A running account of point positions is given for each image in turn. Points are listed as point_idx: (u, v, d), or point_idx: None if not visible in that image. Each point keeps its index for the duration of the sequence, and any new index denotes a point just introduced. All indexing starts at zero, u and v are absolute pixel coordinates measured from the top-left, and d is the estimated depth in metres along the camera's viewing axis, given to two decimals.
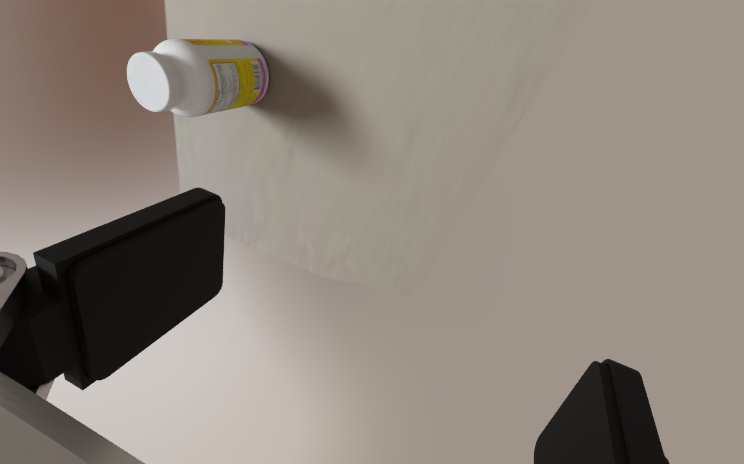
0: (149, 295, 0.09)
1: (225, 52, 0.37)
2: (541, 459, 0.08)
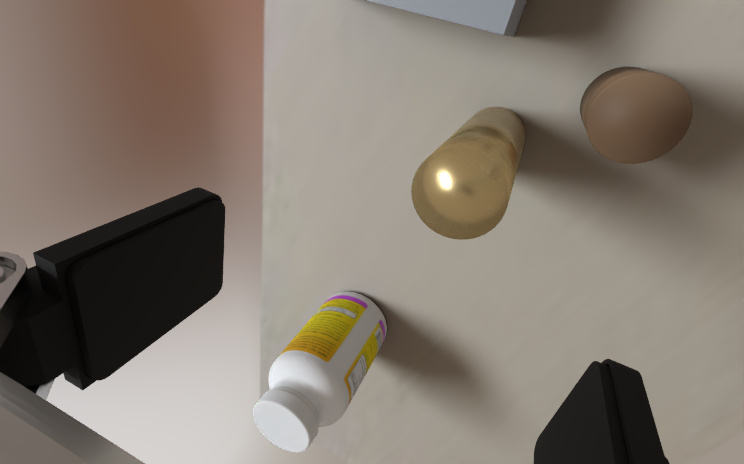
0: (149, 295, 0.09)
1: (354, 345, 0.31)
2: (541, 459, 0.08)
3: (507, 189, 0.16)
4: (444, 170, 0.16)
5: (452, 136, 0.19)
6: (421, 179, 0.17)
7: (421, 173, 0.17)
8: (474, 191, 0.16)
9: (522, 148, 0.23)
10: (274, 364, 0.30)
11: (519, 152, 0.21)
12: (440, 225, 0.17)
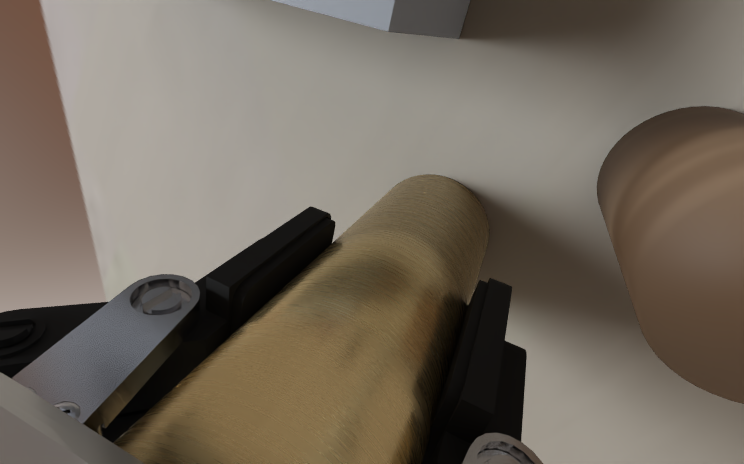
0: None
1: None
2: None
3: None
4: None
5: (250, 320, 0.07)
6: None
7: None
8: None
9: (474, 279, 0.11)
10: None
11: (456, 323, 0.08)
12: None
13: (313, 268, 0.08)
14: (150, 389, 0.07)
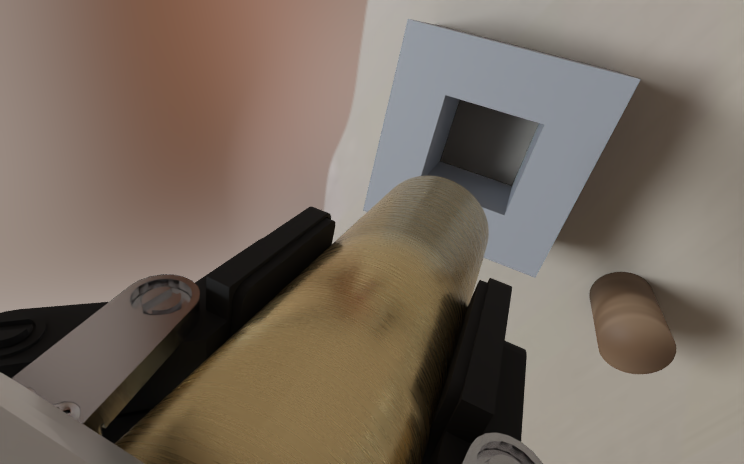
0: None
1: None
2: None
3: None
4: None
5: (251, 322, 0.07)
6: None
7: None
8: None
9: (474, 280, 0.11)
10: None
11: (456, 324, 0.08)
12: None
13: (313, 269, 0.08)
14: (150, 389, 0.07)
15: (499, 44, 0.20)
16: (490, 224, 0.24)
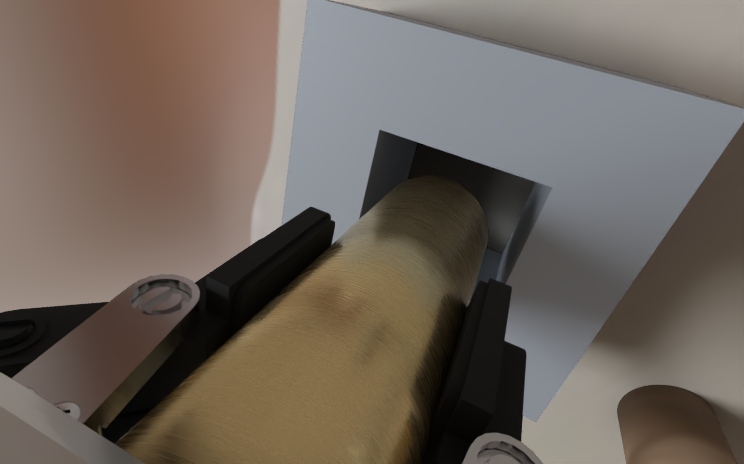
0: None
1: None
2: None
3: None
4: None
5: (250, 322, 0.07)
6: None
7: None
8: None
9: (474, 281, 0.11)
10: None
11: (455, 324, 0.08)
12: None
13: (313, 270, 0.08)
14: (150, 389, 0.07)
15: (468, 40, 0.11)
16: None
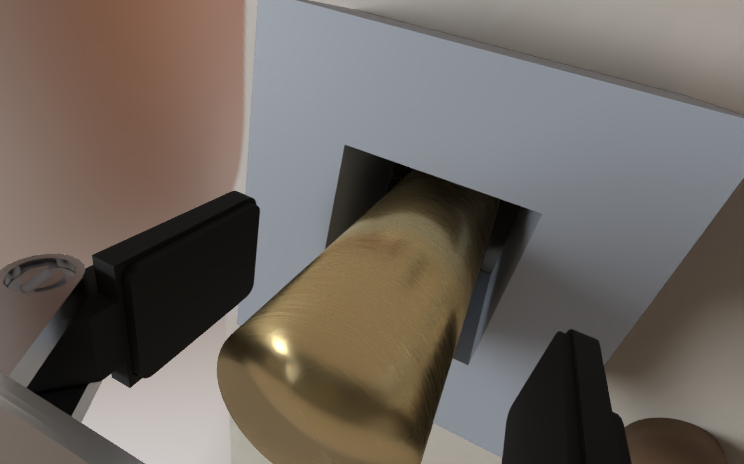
0: (192, 296, 0.09)
1: None
2: (511, 425, 0.09)
3: (417, 432, 0.06)
4: (272, 363, 0.07)
5: (340, 238, 0.10)
6: (232, 370, 0.07)
7: (228, 359, 0.07)
8: (343, 420, 0.07)
9: (490, 230, 0.14)
10: None
11: (479, 252, 0.11)
12: (287, 461, 0.08)
13: (375, 209, 0.11)
14: (49, 370, 0.07)
15: (442, 42, 0.09)
16: None
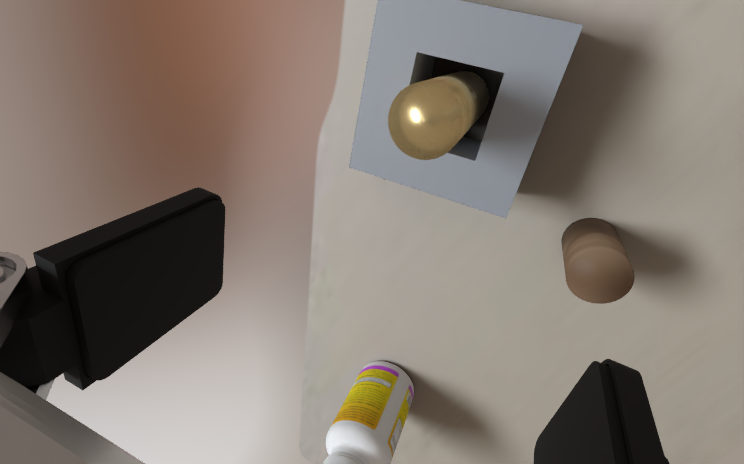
0: (149, 295, 0.09)
1: (392, 412, 0.39)
2: (541, 459, 0.08)
3: (461, 112, 0.20)
4: (412, 101, 0.20)
5: None
6: (395, 111, 0.21)
7: (394, 106, 0.21)
8: (436, 117, 0.20)
9: (483, 101, 0.27)
10: (331, 432, 0.37)
11: (478, 99, 0.25)
12: (412, 149, 0.21)
13: None
14: None
15: (461, 2, 0.23)
16: (463, 171, 0.27)
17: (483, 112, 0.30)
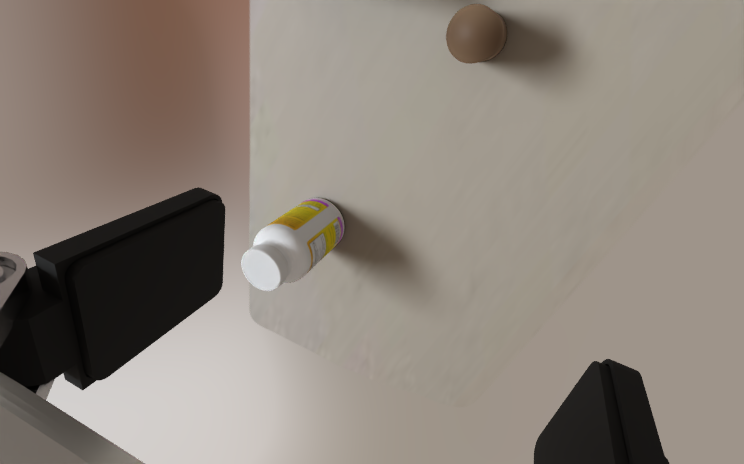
0: (149, 295, 0.09)
1: (316, 225, 0.43)
2: (541, 459, 0.08)
3: None
4: None
5: None
6: None
7: None
8: None
9: None
10: (257, 235, 0.41)
11: None
12: None
13: None
14: None
15: None
16: None
17: None
